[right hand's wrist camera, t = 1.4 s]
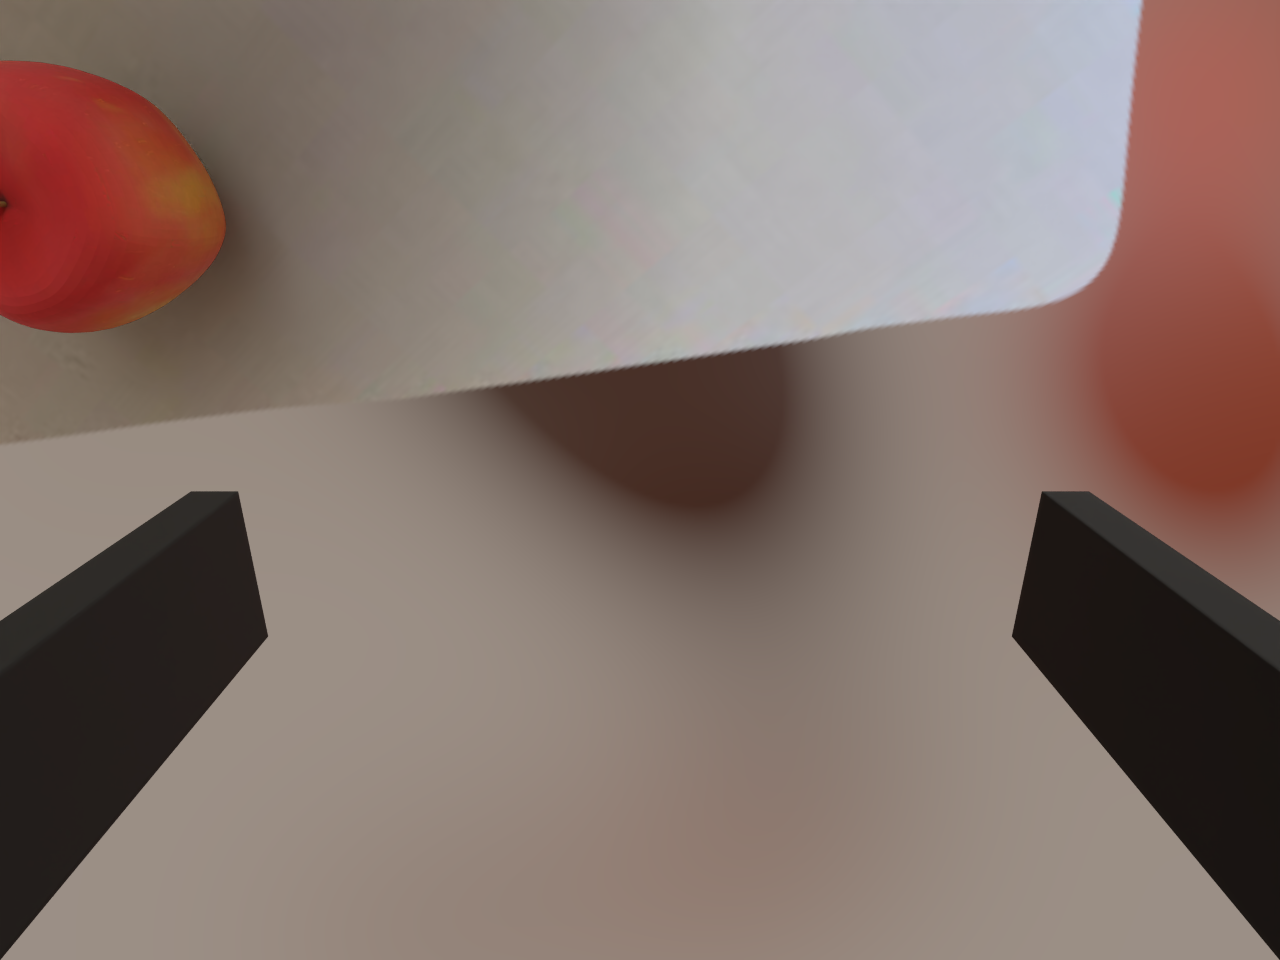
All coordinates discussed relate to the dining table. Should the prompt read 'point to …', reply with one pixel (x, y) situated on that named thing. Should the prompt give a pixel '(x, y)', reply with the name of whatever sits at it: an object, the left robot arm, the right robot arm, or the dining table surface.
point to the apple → (95, 202)
